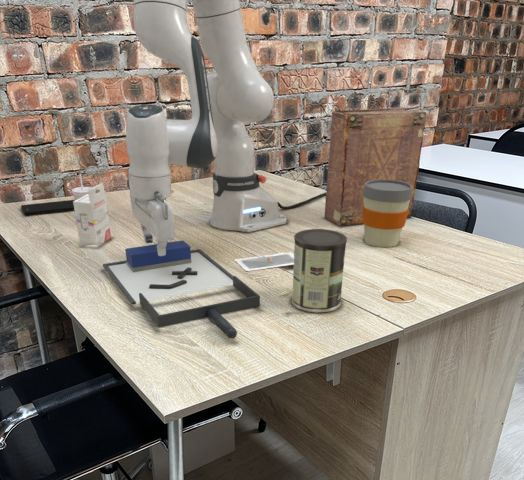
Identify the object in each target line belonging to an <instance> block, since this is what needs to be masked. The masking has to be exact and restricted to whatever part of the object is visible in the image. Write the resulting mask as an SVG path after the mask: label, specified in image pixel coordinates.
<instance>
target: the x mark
mask: <svg viewBox="0 0 524 480" xmlns="http://www.w3.org/2000/svg"><path fill="white" fill-rule="evenodd" d="M191 270H192V268H186V269H185V270H184V271H172V275H178V276H177V277H178V279H182V278H184V277H185V276H186V275H197V271H191Z"/></svg>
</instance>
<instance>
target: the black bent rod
mask: <svg viewBox="0 0 524 480" xmlns="http://www.w3.org/2000/svg"><path fill="white" fill-rule="evenodd" d="M186 283H187V281H186V280H181V281H179V282H176V283H173V284H170V285H158V284H150V285H149V289H173V288H175V287H178V286H181V285H183V284H186Z"/></svg>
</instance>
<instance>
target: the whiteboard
mask: <svg viewBox="0 0 524 480" xmlns="http://www.w3.org/2000/svg"><path fill="white" fill-rule="evenodd" d="M102 267H103V268H104V269H105V271H106V272H107V273H108V275H109V276H110V278H111V279H112V280H113V281H114V283H115V284H116V285H117V287H118V288H119V289H120V291H121V292H122V293H123V294H124V296H125V297H126V299H127V300H128V301H129V302H130V304H131V305H137V304H140V299H139V293H142V294H143V296H144V297H145V298H146V299H147V301H148V302H151V301H152V302H153V301H156V300H157V301H159V300H162V299H167V298H168V299H169V298H173V297H177V296H178V297H179V296H184V295H188V294H189V295H190V294H193V293H199V292H205V291H209V290H216V289H221V288H226V287H231V286H232V287H233V276H234V275H233V274H231V273H230V272H229V271H228V270H226V268H224V267H223V266H222V265H220V264H219V263H218V262H217V261H215V260H214V259H213V258H212V257H211V256H209V255H208V254H207V253H206V252H204V251H203V250H202V249H201V248H197V249H191V263H187V264H181V265H175V266H168V267H162V268H156V269H150V270H144V271H138V272H132V270H131V269H130V268H129V267H128V266H127V260H121V261H120V260H119V261H113V262H106V263H103V264H102ZM186 268H192V270H191V271H197V275H186V276H185V277H184V278H182V279H178V277H177V276H178V275H172V271H184V270H185V269H186ZM181 280H186V281H187V283H186V284H183V285H181V286H178V287H175V288H173V289H149V285H150V284H158V285H170V284H173V283H176V282H179V281H181Z"/></svg>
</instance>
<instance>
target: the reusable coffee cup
mask: <svg viewBox="0 0 524 480" xmlns="http://www.w3.org/2000/svg"><path fill="white" fill-rule="evenodd" d="M363 196H364V204H363V206H362V211H363V223H364V224H363V228H364V229H363V231H364V233H363V234H364V238H363V239H364V242H365V244H367V245H370V246H373V247H378V248H391V247H395V246H397V245H399V241H400V237H401V235H402V230H403V228H404V227H405V226H406V223H407V219H408V218H407V215H408V212H409V207H408V206H409V202H410V200H411V199H412V185H410V184H408V183H405V182H401V181H395V180H371V181H368V182H366V183H365V186H364V190H363Z"/></svg>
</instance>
